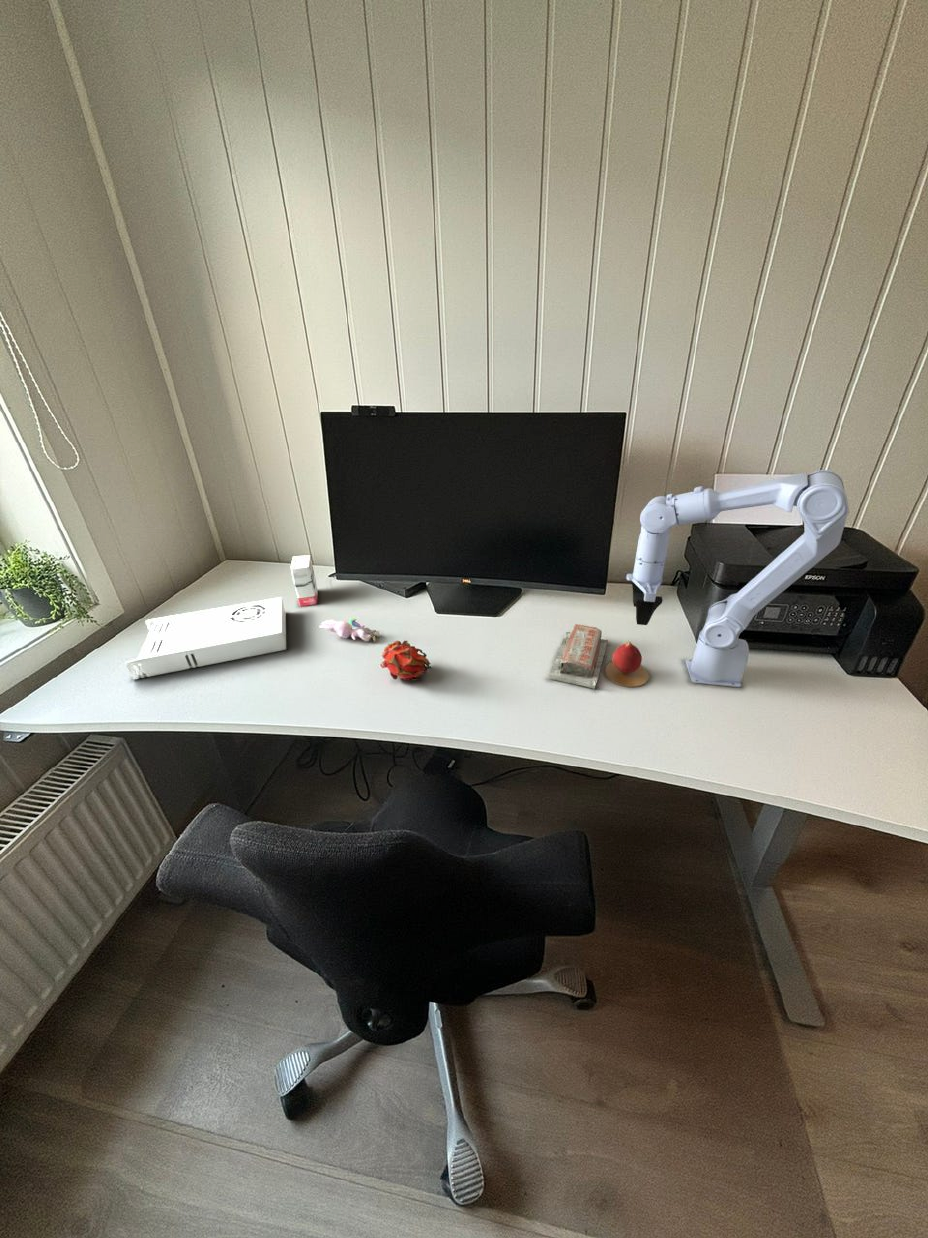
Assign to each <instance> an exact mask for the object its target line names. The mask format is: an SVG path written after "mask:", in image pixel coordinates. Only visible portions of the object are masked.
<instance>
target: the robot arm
mask: <svg viewBox="0 0 928 1238" xmlns="http://www.w3.org/2000/svg"><path fill="white" fill-rule="evenodd" d="M767 505H768V506H769V505H772V506H775V507H778V508H779V509H781V510H784V511H786V512H788V513H792V512H793V508H794V507H796V509H797V512H798V514H799V517H800V518H801V520H802V521H803V526H804V532H803V533H802V535H800V536H799V537H798V538H797V539H796V540H795V541H794V542H792V543H791V545H789V546H788V547H787V548H786V549H785V550H783V551H782V552H781V553H780V554H779V555H778V556H777V557H775V558H774V559H773V560H772V561H771V562H770V563H769V564H768V565H767V566H766V567H764V568H763V569H762V570H761V571H760V572H759V573H757V574H756V575H755V576H754V578H752V579H751V580H750V581H749V582H748V583H746V585H744V586H743V587H742V588H741V589H740V590H739V591H738V592H736V593H732V594H730V595H728V597H726V598H725V599H723V600H719V601H717V602H714V603H712V604H711V605H710V607H708V611H707V616H706V620H705V623H704V626H703V628H702V629H701V630H700V631H699V633H698V638H697V642H696V644H695V648H694V653H693V656H692V659H691V658H690V659H689V658H687V659H685V664H686V667H687V671H688V675H689V678H690V681H691V683H694V684H701V685H702V684H703V685H711V686H722V687H731V688H732V687H733V688H741V687H742V684H741V683H742V679H743V676H744V673H745V670H746V668H747V665H748V661H749V657H750V656H749V655H750V648H749V644H748V642H747V640H746V639H742V638H739V636H740V634H741V633H742V632H743V631H744V630H746V629H747V627H748V626H749V625H750V623H751V621H752V620H753V618H754V617H755V615H756V614H758V613H759V612H761V610H762V609H763V608H765V607H766V606H767V605H768V604H770V603H771V602H772V601H773V600H774V599H776V598H777V597H779V595H780V594H782V593H783V592H785V590H787V589H788V588H789V587H790V586H791V585H793V584H794V583H795V582H796V581H797V580H799V579H800V578H801V577H802V576H804V574H806V573H807V572H808V571H810V570H811V569H812V568H813V567H814V566H816V565H817V564H819V562H821V561H822V560H823V559H824V558H826V557H827V556H828V555H829V554H830V553H831V552H832V551H834V550H835V549H836V548H837V547H838V546H839V545H840V543H841V539H842V535H843V532H844V529H845V524H846V522H847V518H848V516H849V514H850V508H849V502H848V497H847V493H846V491H845V486H844V482H843V479H842V477H841V476H840V475H839V474H838V473H836V472H834V471H832V470H829V469H828V470H827V469H821V470H816V471H815V470H814V471H813V472H811V473H809V474H808V472H799V473H795V474H790V475H787V476H783V477H779V478H776V479H771V480H766V481H762V482H758V483H755V484H750V485H746V486H743V487H738V488H733V489H730V490H725V491H723V492H722V491H721V492H719V491H717V490H715V489H712V488H711V487H709V488H708V487H707V488H703V486H702V485H701V486H697V487H694V489H693V491H689V492H685V493H684V492H683V493H680V494H675V495H674V493H673V492H672V493H668V494H667V495H666V496H664V495H660V496H655V497H653V498H652V499H651V500H649V501H648V503H647V504H646V505H645V506H644V508H643V509H642V510H641V512H640V515H639V522H640V525H641V527H640V534H639V536H638V540H637V548H636V553H635V560H634V566H633V572H632V573H627V574H626V576H625V578H626V580H627V581H628V582H630V583H631V587H632V603H633V607H635V621H636V625H638V626H639V625H640V626H648V625H649V622H650V621H651V618H652V616H653V614H654V613H655V611H656V610H657V608H658V607H659V606H660V605H662V603H663V601H664V600H663V596H658V595H657V592H658V590H659V589H660V587H661V585H662V583H663V580H664V579H663V574H664V569H665V564H666V559H667V553H668V549H669V545H670V540H671V539H670V538H671V536H670V534H671V528H672V526H673V527H680V526H684V525H690V524H696V523H701V522H707V521H712V520H715V519H716V518H717V516H719V514H720V513H721V512H726V511H733V510H741V509H747V508H748V509H749V508H754V507H762V506H767Z"/></svg>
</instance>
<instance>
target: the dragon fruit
mask: <svg viewBox="0 0 928 1238" xmlns="http://www.w3.org/2000/svg"><path fill="white" fill-rule="evenodd" d="M381 657H382V658H383V659H384V660H383V661H382V662H381V663H380V664H379V665H380V667H381V668H382V669H385V668H387V669H388V671H389V675H390V677H392V679H393V680H395V681H396V680H397V679H398V677H399V678H401V679H403V680H406V681H408V682H415V681H419V680H420V678H419V676H420V675H424V674H427V673H428V670H429V669H432V666H431V664H432V663H431V662H430V661H429V659H428V658H427V654H426V653H425V652H423V650H422V649H421V648H416V646H414V645H411V643H410V642H408V640H404V641H403V642H401V641H400V640H394V641H393V642H392V643H388V644H387V645H386V646H385V647H384V649H383V651H382V653H381Z"/></svg>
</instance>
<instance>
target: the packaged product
mask: <svg viewBox="0 0 928 1238" xmlns="http://www.w3.org/2000/svg"><path fill="white" fill-rule="evenodd" d="M602 632H603V631H602V630H601V629H599V628H598V627H596V626H589V625H584V624H577V623H575V624H574V626H573V628H572V630H571V631H565V634H564V636H563V638H562V641H561V643H560V646H559V648H558V651H557V653H556V656H555V659H554V661H553V663H552V665H551V668H550V671H549V673H548V679H549V680H553V681H558V682H563V683H569V684H573V685H578V686H581V687H582V686H583V687H587V688H589V689H593V690H594V689H595V688H596V687H597V682H598V681H599V676H600V671H601V668H602V664H603V662H604V657H605V656H604V655H605V653H606V650H607V645H608V642H609V640H608V639H604V638H602Z"/></svg>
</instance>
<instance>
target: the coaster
mask: <svg viewBox="0 0 928 1238" xmlns="http://www.w3.org/2000/svg"><path fill="white" fill-rule="evenodd" d="M604 674H605V676H606V678H607V680H609V681H610V682H611V683H613V684H615V685H618V686H620V687H625V688H639V687H641V686H644V685H646V683H647V682H648V681H649V678H650V675H649V672H648V671H647V669H646V668H645V667H644V666H643V665H642V664H641V665H640V667H639V668H638V669H637V670H636V671H634V672H632V673H626V674H624V673H622V672H621V671H620V670H619V669H617V668H616V667H615V665H614V663H613V661H611V662H609V663H608V664H606V666H605V668H604Z"/></svg>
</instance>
